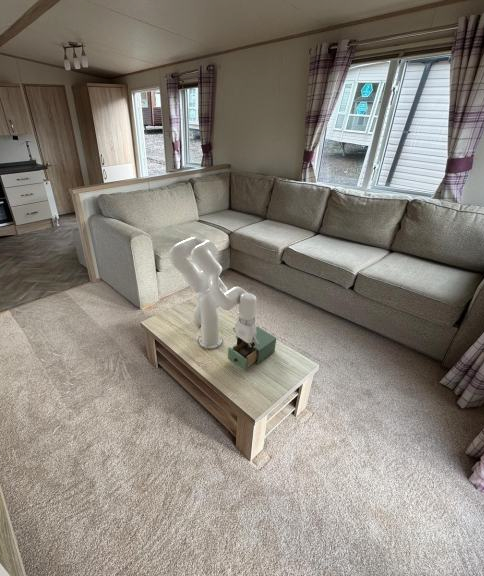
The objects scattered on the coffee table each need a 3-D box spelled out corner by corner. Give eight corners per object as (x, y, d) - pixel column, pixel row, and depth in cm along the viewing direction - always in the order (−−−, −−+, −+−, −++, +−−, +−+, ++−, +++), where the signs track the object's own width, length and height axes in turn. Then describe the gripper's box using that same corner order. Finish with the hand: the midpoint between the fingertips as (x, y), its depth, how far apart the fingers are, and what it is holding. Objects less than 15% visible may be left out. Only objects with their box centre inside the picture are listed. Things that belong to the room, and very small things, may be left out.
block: (238, 357, 152) (238, 351, 150) (243, 353, 154) (244, 347, 152) (244, 361, 149) (244, 355, 147) (249, 357, 151) (250, 351, 149)
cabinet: (257, 364, 150) (259, 350, 145) (239, 350, 159) (239, 337, 154) (274, 351, 157) (276, 338, 153) (256, 339, 166) (257, 326, 161)
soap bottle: (209, 311, 189) (209, 270, 174) (222, 319, 182) (223, 277, 166) (189, 322, 181) (186, 280, 165) (201, 331, 173) (200, 288, 157)
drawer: (242, 372, 145) (243, 361, 141) (226, 359, 152) (226, 349, 148) (261, 358, 152) (262, 348, 148) (244, 347, 160) (245, 336, 156)
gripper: (227, 313, 142) (226, 342, 152) (255, 331, 131) (253, 360, 140) (238, 307, 146) (237, 335, 156) (266, 323, 135) (263, 353, 144)
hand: (244, 347), depth 148 cm, fingers open, 6 cm apart
